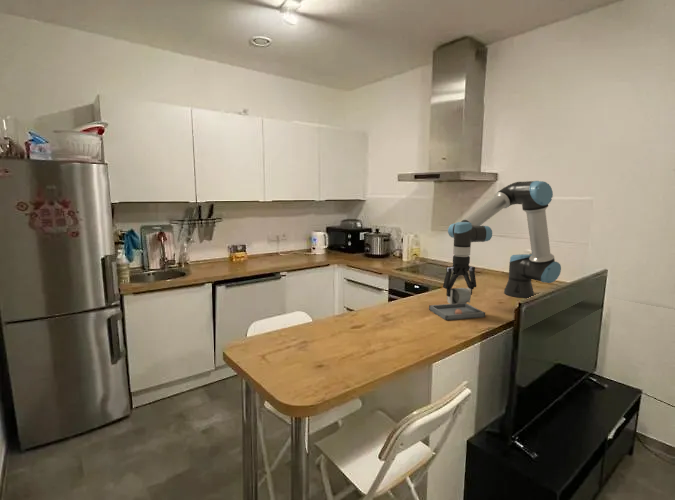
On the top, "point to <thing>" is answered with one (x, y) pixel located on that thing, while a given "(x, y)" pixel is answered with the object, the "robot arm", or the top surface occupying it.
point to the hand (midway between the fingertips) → (458, 302)
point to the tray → (449, 311)
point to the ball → (458, 311)
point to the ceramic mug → (460, 296)
